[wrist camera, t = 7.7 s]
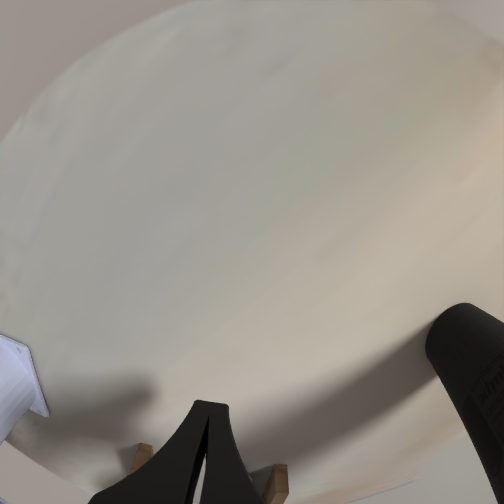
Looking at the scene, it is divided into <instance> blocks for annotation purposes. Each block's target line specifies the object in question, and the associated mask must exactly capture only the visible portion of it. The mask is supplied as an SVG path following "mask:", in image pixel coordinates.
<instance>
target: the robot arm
mask: <svg viewBox="0 0 504 504" xmlns="http://www.w3.org/2000/svg"><path fill="white" fill-rule="evenodd" d="M28 409H29V410H31V411H33V412H35V413H37V414H39V415H41V416H44V417H46V418H47V417H48V416H49V415H50V414H49V411H48V408H47V406H46V403H45V400H44V397H43V394H42V391H41V388H40V385H39V382H38V379H37V376H36V372H35V369H34V365H33V362H32V358H31V354H30V351H29V349H28V347H27V346H25V345H23V344H21V343H19V342H16V341H14V340H12V339H10V338H7V337H5V336H3V335H1V334H0V445H1V444H2V442H3V441H4V440H5V438H6V437H7V436H8V434H9V433H10V432H11V430H12V429H13V428H14V426H15V425H16V424H17V423H18V421H19V420H20V419H21V417H22V416H23V415H24V414H25V412H26V411H27V410H28ZM205 454H206V465H205V474H204V480H203V485H202V491H201V497H200V502H199V504H266V502H265V501H264V499H263V498H262V496H261V495H260V493H259V492H258V490H257V489H256V487H255V486H254V484H253V482H252V480H251V479H250V477H249V475H248V473H247V471H246V469H245V467H244V464H243V462H242V460H241V457H240V455H239V452H238V449H237V447H236V443H235V440H234V437H233V433H232V429H231V424H230V419H229V406H228V405H227V404H222V403H215V402H209V401H202V400H196V401H194V404H193V406H192V408H191V410H190V411H189V413H188V415H187V416H186V418H185V419H184V421H183V422H182V424H181V425H180V426H179V428H178V429H177V430H176V432H175V433H174V434H173V435H172V437H171V438H170V439H169V440H168V441H167V442H166V444H165V445H164V446H163V447H162V448H161V449H160V450H159V451H158V452H157V453H156V454H155V455H154V456H153V457H152V458H151V459H149V460H148V461H147V462H146V463H145V464H144V465H142V466H141V467H140V468H139V469H137V470H136V471H135V472H133V473H132V474H130V475H129V476H127V477H126V478H124V479H123V480H121V481H119V482H118V483H116V484H114V485H113V486H111V487H109V488H107V489H105V490H103V491H101V492H99V493H97V494H95V495H94V496H93V497H92V498H91V500H90V501H89V503H88V504H193V499H194V494H195V490H196V486H197V483H198V479H199V476H200V472H201V468H202V465H203V461H204V457H205ZM0 504H9V503H8V502H6V501H5V500H3V499H2V498H0Z"/></svg>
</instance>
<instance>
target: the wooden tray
mask: <svg viewBox="0 0 504 504" xmlns="http://www.w3.org/2000/svg"><path fill="white" fill-rule="evenodd" d="M152 457H153V450H152V446H149V445H145V444H142V443H140V446H139V448H138V451H137V453H136V456H135V459H134V461H133V464H132V467H131V469H130V470H131V474H132V473H133V472H135V471H136V470H137V469H139V468H140V467H141V466H142V465H144V464H145V463H146V462H147V461H148V460H149V459H151V458H152ZM288 494H289V486H288V472H287V465H275V466H274V468H273V471H272V473H271V476H270V478H269V481H268V483H267V486H266V488H265V491H264V493H263V496H262V498H263V499H264V501H265V502H266V504H283V503H284V502H285V500H286V498H287V496H288Z"/></svg>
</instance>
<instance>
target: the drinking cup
mask: <svg viewBox="0 0 504 504" xmlns="http://www.w3.org/2000/svg"><path fill="white" fill-rule="evenodd" d="M426 354H427V357H428V359H429V361H430V362H431V364H432V366H433V368H434V369H435V371H436V373H437V375H438V376H439V378H440V380H441V382H442V384H443V385H444V387H445V389H446V391H447V393H448V395H449V397H450V398H451V400H452V402H453V404H454V406H455V408H456V410H457V412H458V414H459V416H460V418H461V420H462V422H463V424H464V426H465V428H466V430H467V432H468V434H469V436H470V438H471V440H472V443H473V445H474V447H475V449H476V451H477V453H478V455H479V458H480V460H481V463H482V465H483V467H484V469H485V472H486V474H487V477H488V479H489V481H490V484H491V487H492V489H493V492H494V494H495V497H496V500H497V502H498V504H504V323H503V322H501V321H500V320H498V319H496V318H495V317H493V316H491V315H490V314H488V313H486V312H485V311H483V310H481V309H479V308H478V307H476V306H474V305H472V304H470V303H460V304H457V305H454V306H452V307H451V308H449V309H448V310H446V311H445V312H444V313H443V314H442V315H441V316H440V317H439V318H438V319H437V321H436V322H435V323H434V325H433V326H432V328H431V330H430V332H429V334H428V337H427V341H426Z"/></svg>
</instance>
